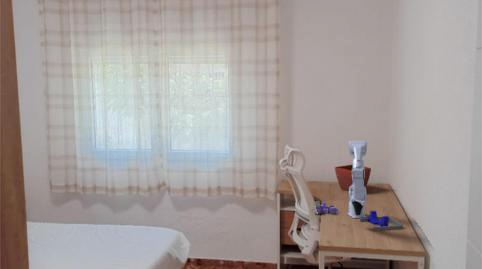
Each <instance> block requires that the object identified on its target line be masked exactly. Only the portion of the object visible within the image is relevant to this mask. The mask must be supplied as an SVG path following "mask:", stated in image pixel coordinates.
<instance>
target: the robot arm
mask: <svg viewBox="0 0 482 269" xmlns="http://www.w3.org/2000/svg"><path fill="white" fill-rule="evenodd" d="M348 144H349V146H348V148H349V149H348V150H349V155H350V156H351V157H353V159H352V165H353V169H352V182H353V185H352V186H350V188H349V191H348V200H349V202H348V212H347V215H348V216H350V217H352V218H353V219H360V218H368V216H367V215H365V206H367V197H368V196H367V186H366V187H365V186H364V179H363V177H364V178H365V170H364V167H365V165H364V164H365V162H364V159H363V157H366V154H367V150H368V141H366V140H349V143H348ZM352 189H353V190H352Z"/></svg>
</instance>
